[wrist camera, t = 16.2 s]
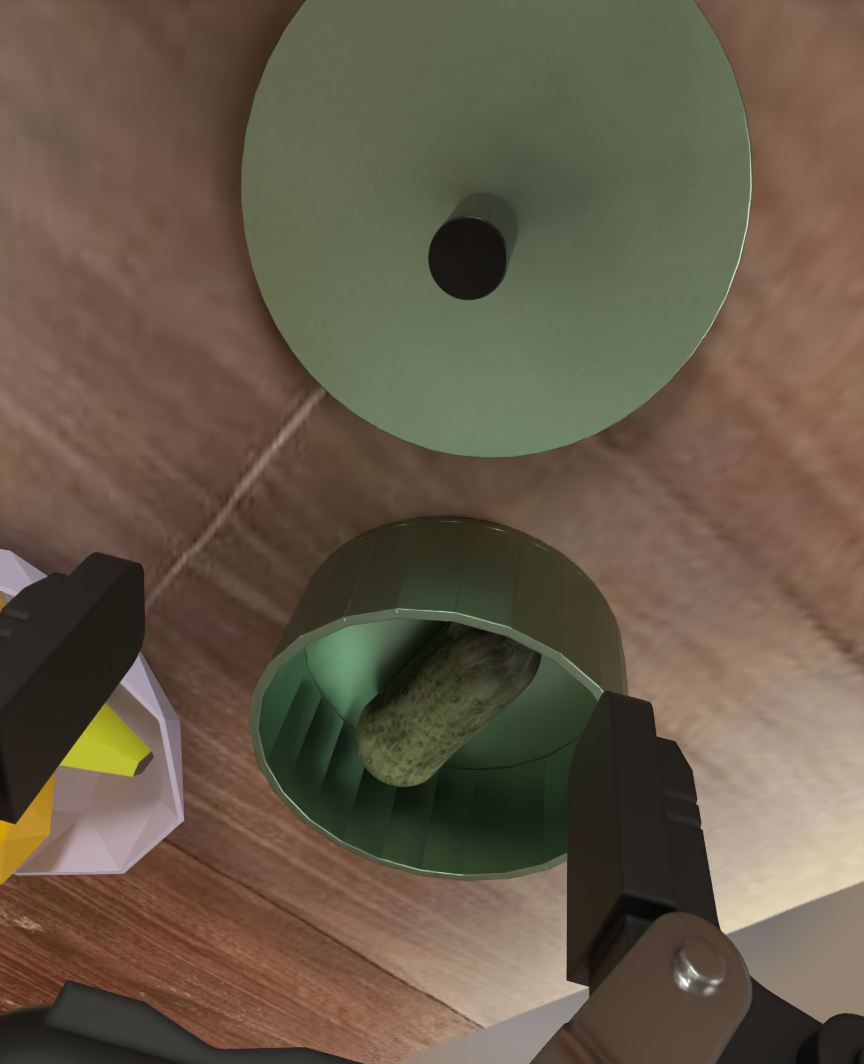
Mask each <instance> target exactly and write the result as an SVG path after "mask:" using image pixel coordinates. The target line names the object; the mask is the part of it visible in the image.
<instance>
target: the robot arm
mask: <svg viewBox="0 0 864 1064" xmlns="http://www.w3.org/2000/svg"><path fill="white" fill-rule="evenodd" d="M144 633H145V605H144V570H143V567H142V565H141V564H140V563H137V562H133V561H130V560H126V559H122V558H118V557H115V556H111V555H107V554H103V553H100V552H95V553H92V554H91V555H89V556H88V557H87V558H86V559H85V560H84V561H83V562H82V563H81V564H80V565H79V566H78V567H77V568H76V569H75V570H74V571H73V572H72V573H71V574H70V575H69V576H66V575H62V574H59V573H53V574H51V575H49V576H47V577H45V578H43V579H41V580H39V581H37V582H35V583H33V584H31V585H29V586H27V587H25V588H23V589H22V590H21V591H20V592H19V593H18V594H17V595H16V596H15V597H14V598H13V599H12V600H11V601H10V602H8V603H7V604H6V605H5V606H4V607H3V608H2V611H1V613H0V820H1V821H4V822H8V823H12V824H15V825H16V823H17V822H18V821H19V819H20V818H21V817H22V815H23V814H24V813H25V811H26V810H27V808H28V807H29V806H30V804H31V803H32V802H33V800H34V799H35V798H36V796H37V795H38V794H39V792H40V791H41V789H42V788H43V787H44V785H45V784H46V783H47V781H48V780H49V779H50V777H51V776H52V774H53V773H54V772H55V770H56V769H57V768H58V766H59V765H60V764H61V762H62V761H63V759H64V758H65V757H66V755H67V754H68V753H69V751H70V750H71V749H72V747H73V746H74V745H75V743H76V742H77V740H78V739H79V738H80V736H81V735H82V734H83V732H84V731H85V730H86V728H87V727H88V725H89V724H90V723H91V721H92V720H93V719H94V717H95V716H96V715H97V713H98V712H99V711H100V709H101V708H102V706H103V705H104V704H105V702H106V701H107V700H108V698H109V697H110V696H111V694H112V693H113V691H114V690H115V689H116V687H117V686H118V685H119V683H120V682H121V681H122V679H123V678H124V676H125V675H126V674H127V672H128V671H129V670H130V668H131V667H132V665H133V664H134V662H135V661H136V659H137V657H138V654H139V652H140V649H141V647H142V643H143V639H144ZM696 802H697V795H696V789H695V783H694V777H693V771H692V769H691V767H690V765H689V764H688V762H687V760H686V759H685V757H684V755H683V753H682V752H681V750H680V748H679V747H678V745H677V743H676V742H675V741H672V740H668V739H664V738H661V737H657V736H656V728H655V720H654V712H653V707H652V704H651V703H650V702H649V701H645V700H641V699H637V698H634V697H630V696H626V695H622V694H619V693H615V692H611V691H608V690H606V691H604V692H603V693H602V695H601V697H600V698H599V700H598V703H597V705H596V707H595V709H594V711H593V713H592V715H591V717H590V719H589V721H588V723H587V726H586V728H585V730H584V732H583V734H582V736H581V738H580V740H579V742H578V744H577V747H576V749H575V751H574V754H573V758H572V761H571V766H570V771H569V777H568V829H567V981H570V982H574V983H577V984H581V985H585V986H588V987H589V993H590V994H589V995H590V996H589V999H588V1000H587V1001H586V1002H585V1003H584V1005H583V1006H582V1007H581V1008H580V1009H579V1011H578V1012H577V1013H576V1014H575V1015H574V1016H573V1017H572V1019H571V1020H570V1021H569V1022H568V1023H565V1024H564V1025H563V1026H562V1027H561V1028H560V1029H559V1030H558V1031H557V1032H556V1033H555V1034H554V1036H553V1037H552V1038H551V1039H550V1040H549V1041H548V1042H547V1044H546V1045H545V1046H544V1047H543V1048H542V1050H541V1051H540V1052H539V1053H538V1054H537V1055H536V1057H535V1058H534V1059H533V1060H532V1061H531V1063H530V1064H864V1017H863V1016H860V1015H855V1014H847V1013H843V1014H838V1015H835V1016H833V1017H831V1018H829V1019H828V1020H827V1021H826V1022H825V1023H824V1024H822V1023H820V1022H818V1021H817V1020H815V1019H814V1018H812V1017H811V1016H809V1015H807V1014H806V1013H804V1012H802V1011H801V1010H799V1009H798V1008H796V1007H794V1006H793V1005H791V1004H790V1003H788V1002H786V1001H785V1000H783V999H781V998H780V997H778V996H777V995H775V994H773V993H772V992H770V991H769V990H767V989H766V988H765V987H763V986H762V985H761V984H759V983H758V982H757V981H756V980H755V979H753V978H752V977H751V976H750V974H749V971H748V968H747V966H746V963H745V961H744V959H743V957H742V956H741V954H740V953H739V951H738V950H737V948H736V947H735V945H734V944H733V943H732V941H731V940H730V939H729V938H728V937H727V936H726V935H725V934H724V933H723V932H722V931H721V929H720V926H719V922H718V917H717V911H716V906H715V900H714V894H713V888H712V882H711V876H710V870H709V865H708V859H707V853H706V847H705V841H704V835H703V830H702V829H701V828H700V827H701V818H700V812H699V806H698V805H696ZM0 1064H363V1063H360V1062H356V1061H352V1060H349V1059H345V1058H342V1057H338V1056H335V1055H331V1054H328V1053H324V1052H321V1051H317V1050H313V1049H310V1048H306V1047H294V1048H254V1049H218V1048H214V1047H212V1046H210V1045H208V1044H207V1043H205V1042H204V1041H202V1040H201V1039H199V1038H198V1037H196V1036H195V1035H193V1034H192V1033H190V1032H189V1031H187V1030H186V1029H184V1028H183V1027H181V1026H180V1025H178V1024H177V1023H175V1022H174V1021H172V1020H171V1019H169V1018H168V1017H166V1016H165V1015H163V1014H162V1013H160V1012H159V1011H157V1010H156V1009H154V1008H153V1007H151V1006H150V1005H148V1004H147V1003H145V1002H143V1001H140V1000H136V999H133V998H129V997H126V996H122V995H119V994H115V993H112V992H108V991H105V990H101V989H97V988H94V987H90V986H87V985H83V984H80V983H76V982H73V981H69V980H66V982H65V984H64V986H63V988H62V989H61V991H60V993H59V995H58V997H57V998H56V1000H55V1002H54V1004H41V1005H34V1006H28V1007H21V1008H17V1009H14V1010H10V1011H7V1012H3V1013H0Z"/></svg>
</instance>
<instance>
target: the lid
mask: <svg viewBox="0 0 864 1064" xmlns="http://www.w3.org/2000/svg"><path fill="white" fill-rule="evenodd" d="M751 195H752V152H751V143H750V136H749V130H748V124H747V117H746V111H745V107H744V104H743V100H742V97H741V94H740V90H739V87H738V84H737V80H736V77H735V74H734V70H733V68H732V66H731V64H730V62H729V60H728V58H727V55H726V53H725V51H724V49H723V47H722V45H721V42H720V40H719V38H718V36H717V34H716V32H715V31H714V29H713V28H712V26H711V25H710V23H709V22H708V20H707V19H706V17H705V16H704V14H703V13H702V11H701V10H700V8H699V7H698V5H697V4H696V2H695V1H694V0H306V1H305V2H304V3H303V5H302V6H301V7H300V9H299V10H298V11H297V13H296V14H295V16H294V17H293V18H292V20H291V21H290V22H289V24H288V25H287V26H286V28H285V30H284V32H283V34H282V36H281V37H280V39H279V41H278V43H277V45H276V47H275V48H274V50H273V52H272V54H271V56H270V58H269V59H268V62H267V64H266V67H265V70H264V72H263V75H262V77H261V80H260V82H259V85H258V88H257V90H256V93H255V96H254V100H253V104H252V108H251V112H250V116H249V119H248V123H247V127H246V132H245V140H244V148H243V156H242V164H241V206H242V215H243V224H244V233H245V239H246V243H247V247H248V252H249V256H250V261H251V265H252V269H253V272H254V275H255V278H256V280H257V283H258V286H259V289H260V292H261V295H262V298H263V300H264V302H265V304H266V306H267V308H268V310H269V312H270V314H271V316H272V319H273V321H274V323H275V325H276V327H277V328H278V330H279V332H280V333H281V335H282V336H283V338H284V339H285V341H286V343H287V344H288V346H289V347H290V349H291V351H292V352H293V353H294V355H295V356H296V357H297V359H298V360H299V361H300V362H301V364H302V365H303V366H304V367H305V369H306V370H307V371H308V372H309V374H310V375H311V376H312V377H313V378H314V379H315V380H316V381H317V382H318V383H319V384H320V385H321V386H322V387H323V388H324V389H325V390H326V391H327V392H328V393H329V394H330V395H331V396H332V397H333V398H335V399H336V400H337V401H338V402H340V403H341V404H342V405H343V406H345V407H346V408H347V409H349V410H350V411H351V412H352V413H354V414H355V415H357V416H358V417H360V418H361V419H363V420H365V421H366V422H368V423H369V424H371V425H373V426H374V427H376V428H378V429H379V430H382V431H384V432H386V433H388V434H390V435H392V436H394V437H396V438H399V439H401V440H403V441H405V442H408V443H411V444H414V445H417V446H420V447H423V448H426V449H429V450H434V451H439V452H443V453H448V454H453V455H459V456H470V457H481V458H495V457H516V456H522V455H529V454H536V453H542V452H545V451H549V450H553V449H556V448H560V447H564V446H567V445H570V444H573V443H575V442H577V441H580V440H582V439H585V438H587V437H590V436H592V435H595V434H597V433H599V432H600V431H602V430H604V429H606V428H608V427H609V426H611V425H613V424H615V423H617V422H619V421H620V420H622V419H624V418H625V417H626V416H628V415H629V414H631V413H632V412H633V411H635V410H636V409H637V408H639V407H640V406H642V405H643V404H644V403H646V402H647V401H648V400H649V399H651V398H652V397H653V396H654V395H655V394H656V393H657V392H658V391H659V390H660V389H661V388H663V387H664V386H665V385H666V384H667V383H668V382H669V381H670V380H671V379H672V378H673V377H674V376H675V375H676V373H677V372H678V371H679V370H680V369H681V368H682V366H683V365H684V364H685V363H686V362H687V361H688V360H689V358H690V357H691V356H692V355H693V353H694V352H695V350H696V349H697V347H698V346H699V344H700V343H701V341H702V340H703V339H704V337H705V336H706V334H707V333H708V331H709V330H710V328H711V327H712V325H713V323H714V321H715V319H716V317H717V315H718V313H719V311H720V309H721V307H722V305H723V303H724V301H725V299H726V297H727V295H728V293H729V290H730V287H731V284H732V282H733V279H734V276H735V274H736V271H737V268H738V265H739V263H740V259H741V255H742V250H743V246H744V242H745V238H746V233H747V229H748V224H749V214H750V205H751Z"/></svg>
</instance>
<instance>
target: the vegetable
mask: <svg viewBox="0 0 864 1064" xmlns="http://www.w3.org/2000/svg"><path fill="white" fill-rule="evenodd" d="M541 655H542V654H540V653H538V652H536V651H534V650H532V649H530V648H528V647H527V646H525V645H523V644H521V643H519V642H517V641H515V640H513V639H511V638H509V637H507V636H504V635H500V634H497V633H493V632H489V631H486V630H482V629H478V628H475V627H471V626H467V625H464V624H460V623H456V622H450V621H448V622H447V623H446V624H445V626H444V627H443V628H442V629H441V630H440V631H439V632H438V633H437V634H436V635H435V636H434V638H433V639H432V640H431V641H430V642H429V643H428V644H427V645H426V646H425V647H424V648H423V649H422V651H421V652H420V653H419V654H418V655H417V656H416V657H415V658H414V659H413V660H412V661H411V662H410V663H409V664H408V665H407V666H406V667H405V669H404V670H403V671H402V672H401V673H400V674H399V675H398V676H397V677H396V678H395V679H394V680H393V681H392V682H391V683H390V684H389V685H388V686H386V687H385V688H384V689H383V690H382V691H381V692H380V693H379V694H377V695H376V696H375V697H374V698H373V699H372V700H371V701H370V702H369V703H368V704H367V705H366V706H365V707H364V708H363V710H362V712H361V714H360V717H359V720H358V724H357V728H356V745H357V751H358V754H359V757H360V759H361V761H362V763H363V765H364V766H365V767H366V769H367V770H368V771H369V772H370V773H371V774H372V775H373V776H374V777H376V778H377V779H379V780H380V781H382V782H384V783H386V784H390V785H394V786H398V787H409V786H414V785H419V784H421V783H423V782H425V781H427V780H428V779H429V778H430V777H431V776H432V775H433V774H434V773H435V772H436V771H437V770H438V769H439V768H440V767H441V766H442V765H443V764H444V763H445V762H446V761H447V760H448V759H449V758H450V757H451V756H452V755H453V754H454V753H455V752H456V751H457V750H458V749H459V748H460V747H462V746H463V745H464V744H465V743H466V742H467V741H468V740H470V739H471V738H472V737H473V736H474V735H475V734H477V733H478V732H479V731H480V730H481V729H482V728H484V727H485V726H486V725H487V724H488V723H489V722H490V721H492V720H493V719H494V718H495V717H496V716H497V715H499V714H500V713H501V712H502V711H503V710H504V709H505V708H506V707H508V706H509V705H510V704H511V703H512V702H513V701H514V700H515V699H516V698H517V697H518V696H519V695H520V694H521V693H522V692H523V691H524V690H525V689H526V688H527V687H528V685H529V684H530V683H531V682H532V680H533V678H534V677H535V675H536V673H537V671H538V668H539V665H540V662H541Z"/></svg>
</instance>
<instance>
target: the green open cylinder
mask: <svg viewBox="0 0 864 1064" xmlns="http://www.w3.org/2000/svg"><path fill="white" fill-rule="evenodd" d="M448 621H450V622H456V623H460V624H464V625H467V626H471V627H475V628H478V629H482V630H486V631H489V632H493V633H497V634H500V635H504V636H507V637H509V638H511V639H513V640H515V641H517V642H519V643H521V644H523V645H525V646H527V647H528V648H530V649H532V650H534V651H536V652H538V653H540V654H542V655H541V662H540V665H539V668H538V671H537V673H536V675H535V677H534V678H533V680H532V682H531V683H530V684H529V685H528V687H527V688H526V689H525V690H524V691H523V692H522V693H521V694H520V695H519V696H518V697H517V698H516V699H515V700H514V701H513V702H512V703H511V704H510V705H509V706H508V707H506V708H505V709H504V710H503V711H502V712H501V713H500V714H499V715H497V716H496V717H495V718H494V719H493V720H492V721H490V722H489V723H488V724H487V725H486V726H485V727H484V728H482V729H481V730H480V731H479V732H478V733H477V734H475V735H474V736H473V737H472V738H471V739H470V740H468V741H467V742H466V743H465V744H464V745H463V746H462V747H460V748H459V749H458V750H457V751H456V752H455V753H454V754H453V755H452V756H451V757H450V758H449V759H448V760H447V761H446V762H445V763H444V764H443V765H442V766H441V767H440V768H439V769H438V770H437V771H436V772H435V773H434V774H433V775H432V776H431V777H430V778H429V779H428V780H427V781H425V782H423V783H421V784H419V785H414V786H409V787H398V786H394V785H390V784H386V783H384V782H382V781H380V780H379V779H377V778H376V777H374V776H373V775H372V774H371V773H370V772H369V771H368V770H367V769H366V767H365V766H364V765H363V763H362V761H361V759H360V757H359V754H358V751H357V745H356V728H357V724H358V720H359V717H360V714H361V712H362V710H363V708H364V707H365V706H366V705H367V704H368V703H369V702H370V701H371V700H372V699H373V698H374V697H375V696H376V695H377V694H379V693H380V692H381V691H382V690H383V689H384V688H385V687H386V686H388V685H389V684H390V683H391V682H392V681H393V680H394V679H395V678H396V677H397V676H398V675H399V674H400V673H401V672H402V671H403V670H404V669H405V667H406V666H407V665H408V664H409V663H410V662H411V661H412V660H413V659H414V658H415V657H416V656H417V655H418V654H419V653H420V652H421V651H422V649H423V648H424V647H425V646H426V645H427V644H428V643H429V642H430V641H431V640H432V639H433V638H434V636H435V635H436V634H437V633H438V632H439V631H440V630H441V629H442V628H443V627H444V626H445V624H446V623H447V622H448ZM606 690H608V691H611V692H615V693H619V694H622V695H626V696H628V685H627V675H626V664H625V656H624V652H623V647H622V642H621V635H620V632H619V629H618V626H617V622H616V619H615V617H614V615H613V613H612V611H611V609H610V607H609V605H608V603H607V601H606V599H605V598H604V597H603V595H602V594H601V592H600V591H599V590H598V588H597V587H596V585H595V584H594V583H593V582H592V581H591V580H590V579H589V578H588V577H587V576H586V575H585V573H584V572H583V571H582V570H581V569H580V568H579V567H577V566H576V565H575V564H574V563H572V562H571V561H570V560H569V559H567V558H566V557H565V556H564V555H562V554H561V553H559V552H558V551H556V550H555V549H553V548H551V547H550V546H548V545H547V544H545V543H543V542H541V541H539V540H537V539H535V538H533V537H531V536H529V535H526V534H524V533H522V532H520V531H517V530H514V529H511V528H508V527H505V526H502V525H499V524H495V523H490V522H485V521H481V520H476V519H468V518H458V517H424V518H416V519H409V520H402V521H399V522H395V523H391V524H387V525H383V526H381V527H378V528H376V529H373V530H371V531H368V532H366V533H363V534H361V535H360V536H358V537H356V538H354V539H353V540H351V541H349V542H347V543H346V544H344V545H343V546H342V547H340V548H339V549H338V550H337V551H335V552H334V553H333V554H332V555H330V556H329V558H328V559H327V560H326V561H325V562H324V563H323V564H322V565H321V566H320V567H319V568H318V570H317V571H316V572H315V574H314V575H313V577H312V578H311V580H310V582H309V584H308V586H307V588H306V590H305V591H304V593H303V595H302V597H301V599H300V601H299V602H298V604H297V606H296V608H295V610H294V612H293V614H292V616H291V618H290V620H289V622H288V624H287V626H286V628H285V630H284V632H283V634H282V636H281V638H280V640H279V642H278V644H277V646H276V648H275V650H274V652H273V654H272V656H271V658H270V660H269V662H268V664H267V666H266V668H265V670H264V672H263V674H262V676H261V678H260V680H259V681H258V683H257V685H256V687H255V689H254V691H253V694H252V701H251V709H250V718H249V733H250V737H251V741H252V745H253V749H254V753H255V757H256V761H257V764H258V765H259V767H260V769H261V770H262V772H263V774H264V775H265V777H266V779H267V780H268V782H269V784H270V785H271V787H272V789H273V790H274V792H275V793H276V795H277V796H278V797H279V798H280V799H281V800H282V801H283V802H284V803H285V804H286V805H287V806H288V807H289V808H290V809H291V810H292V811H293V812H294V813H295V814H296V815H297V816H298V817H299V818H300V819H301V820H302V821H303V822H304V823H305V824H307V825H308V826H310V827H311V828H313V829H314V830H315V831H317V832H318V833H320V834H321V835H323V836H324V837H326V838H327V839H329V840H330V841H332V842H333V843H335V844H336V845H338V846H339V847H342V848H344V849H346V850H348V851H350V852H353V853H355V854H357V855H359V856H361V857H363V858H366V859H368V860H370V861H372V862H374V863H378V864H380V865H383V866H387V867H390V868H394V869H398V870H401V871H405V872H408V873H412V874H416V875H420V876H426V877H435V878H443V879H452V880H460V881H475V880H498V879H510V878H515V877H519V876H523V875H528V874H532V873H536V872H541V871H545V870H548V869H551V868H553V867H555V866H557V865H559V864H561V863H564V862H566V861H567V829H568V777H569V771H570V766H571V761H572V758H573V754H574V751H575V749H576V747H577V744H578V742H579V740H580V738H581V736H582V734H583V732H584V730H585V728H586V726H587V723H588V721H589V719H590V717H591V715H592V713H593V711H594V709H595V707H596V705H597V703H598V700H599V698H600V697H601V695H602V693H603V692H604V691H606Z"/></svg>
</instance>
